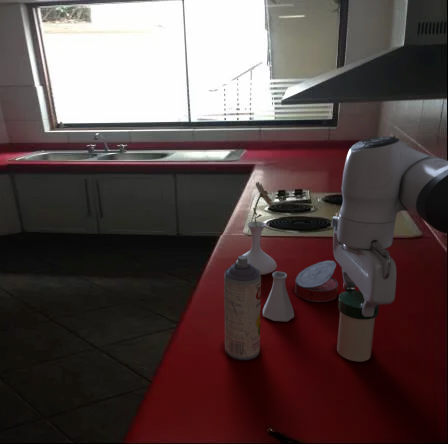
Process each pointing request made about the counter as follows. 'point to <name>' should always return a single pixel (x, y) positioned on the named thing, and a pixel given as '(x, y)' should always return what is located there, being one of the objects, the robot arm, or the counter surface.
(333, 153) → the counter surface
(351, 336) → the white jar
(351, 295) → the lid
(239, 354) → the aerosol can
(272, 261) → the flower in vase
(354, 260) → the robot arm
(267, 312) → the flask
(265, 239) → the counter surface
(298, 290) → the canned food
